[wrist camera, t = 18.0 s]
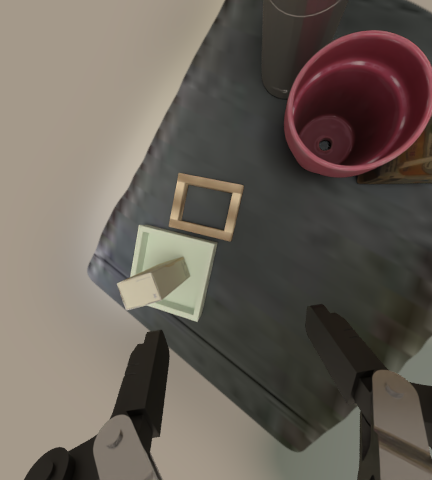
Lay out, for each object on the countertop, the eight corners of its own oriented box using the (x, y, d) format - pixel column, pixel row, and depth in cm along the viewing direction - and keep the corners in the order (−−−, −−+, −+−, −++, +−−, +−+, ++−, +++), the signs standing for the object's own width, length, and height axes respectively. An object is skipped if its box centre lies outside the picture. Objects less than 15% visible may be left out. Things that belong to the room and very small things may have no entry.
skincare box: (183, 255, 40) (152, 270, 28) (191, 277, 40) (163, 300, 28) (156, 264, 41) (115, 282, 29) (163, 285, 41) (125, 311, 30)
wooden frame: (182, 175, 39) (178, 172, 37) (244, 187, 37) (243, 185, 35) (173, 226, 40) (168, 226, 39) (231, 240, 38) (230, 241, 36)
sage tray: (147, 224, 42) (138, 225, 39) (217, 242, 39) (214, 244, 36) (135, 293, 44) (126, 298, 41) (201, 314, 41) (197, 321, 38)
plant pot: (259, 155, 36) (260, 120, 24) (316, 82, 33) (351, -1, 21) (325, 206, 35) (364, 197, 22) (390, 134, 32) (476, 78, 19)
